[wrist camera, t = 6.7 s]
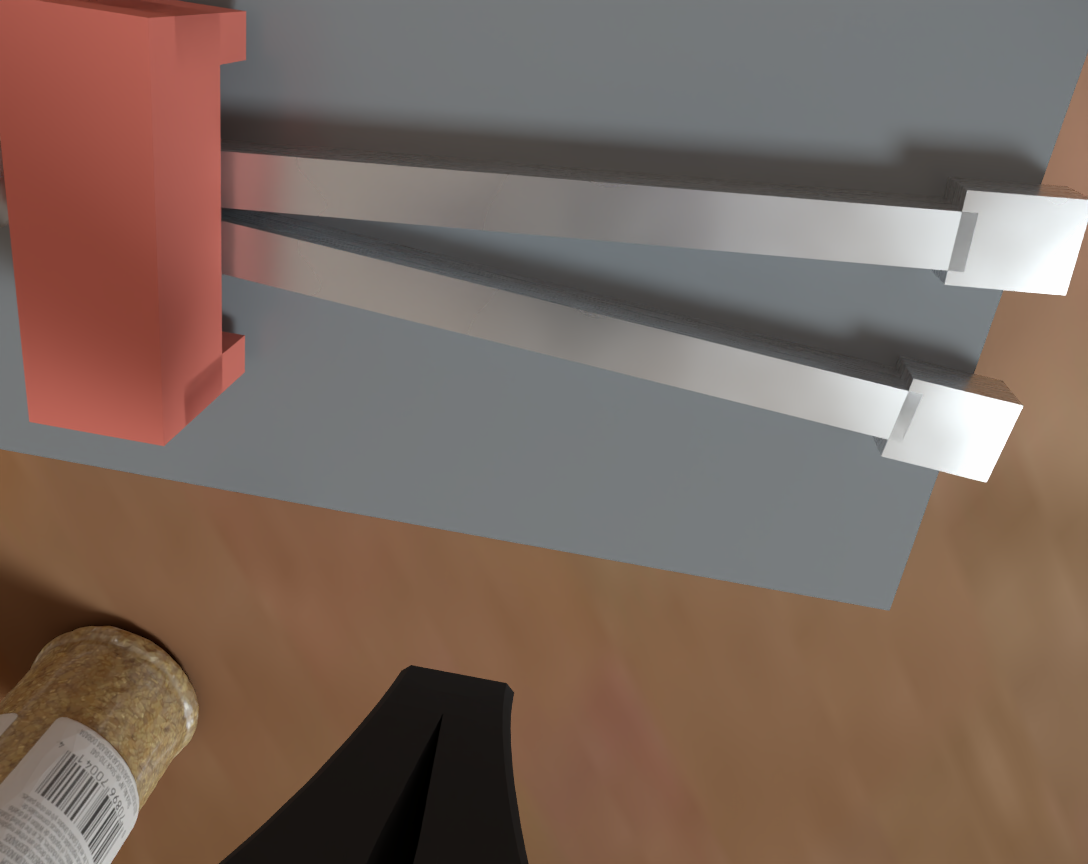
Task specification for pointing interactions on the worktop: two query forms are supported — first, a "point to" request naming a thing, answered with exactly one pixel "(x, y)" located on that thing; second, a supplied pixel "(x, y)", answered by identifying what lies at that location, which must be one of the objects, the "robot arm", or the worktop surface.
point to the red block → (118, 209)
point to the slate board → (610, 270)
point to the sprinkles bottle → (88, 744)
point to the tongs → (665, 220)
